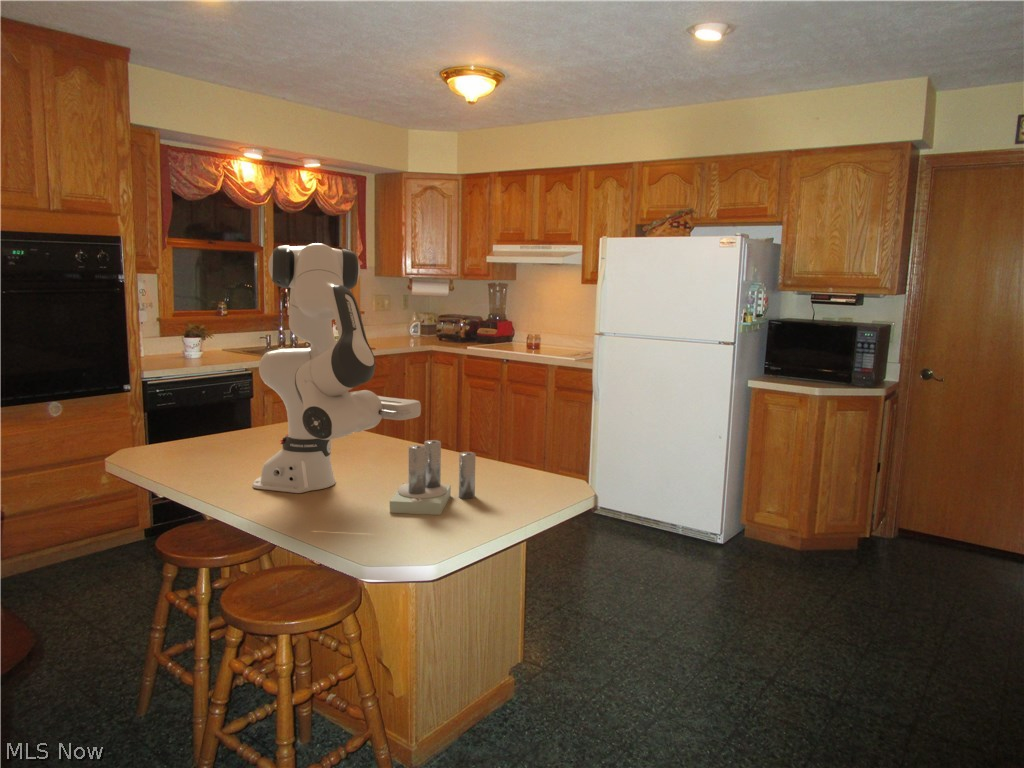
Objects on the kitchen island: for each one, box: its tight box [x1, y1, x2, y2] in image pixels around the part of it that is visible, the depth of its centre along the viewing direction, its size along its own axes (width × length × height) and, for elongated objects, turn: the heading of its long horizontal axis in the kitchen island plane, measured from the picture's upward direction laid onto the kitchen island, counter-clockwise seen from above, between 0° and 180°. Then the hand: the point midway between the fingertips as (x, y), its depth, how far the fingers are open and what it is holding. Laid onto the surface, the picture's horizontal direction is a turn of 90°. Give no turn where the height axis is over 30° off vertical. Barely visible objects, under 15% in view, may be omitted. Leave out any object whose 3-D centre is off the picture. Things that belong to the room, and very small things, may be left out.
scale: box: [389, 482, 452, 516], centre depth 187 cm, size 13×16×4 cm
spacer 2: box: [423, 439, 442, 488], centre depth 191 cm, size 4×4×12 cm
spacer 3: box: [458, 451, 477, 500], centre depth 193 cm, size 4×4×12 cm
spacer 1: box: [408, 444, 426, 495], centre depth 185 cm, size 4×4×12 cm
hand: (396, 401), depth 171 cm, fingers open, 8 cm apart
